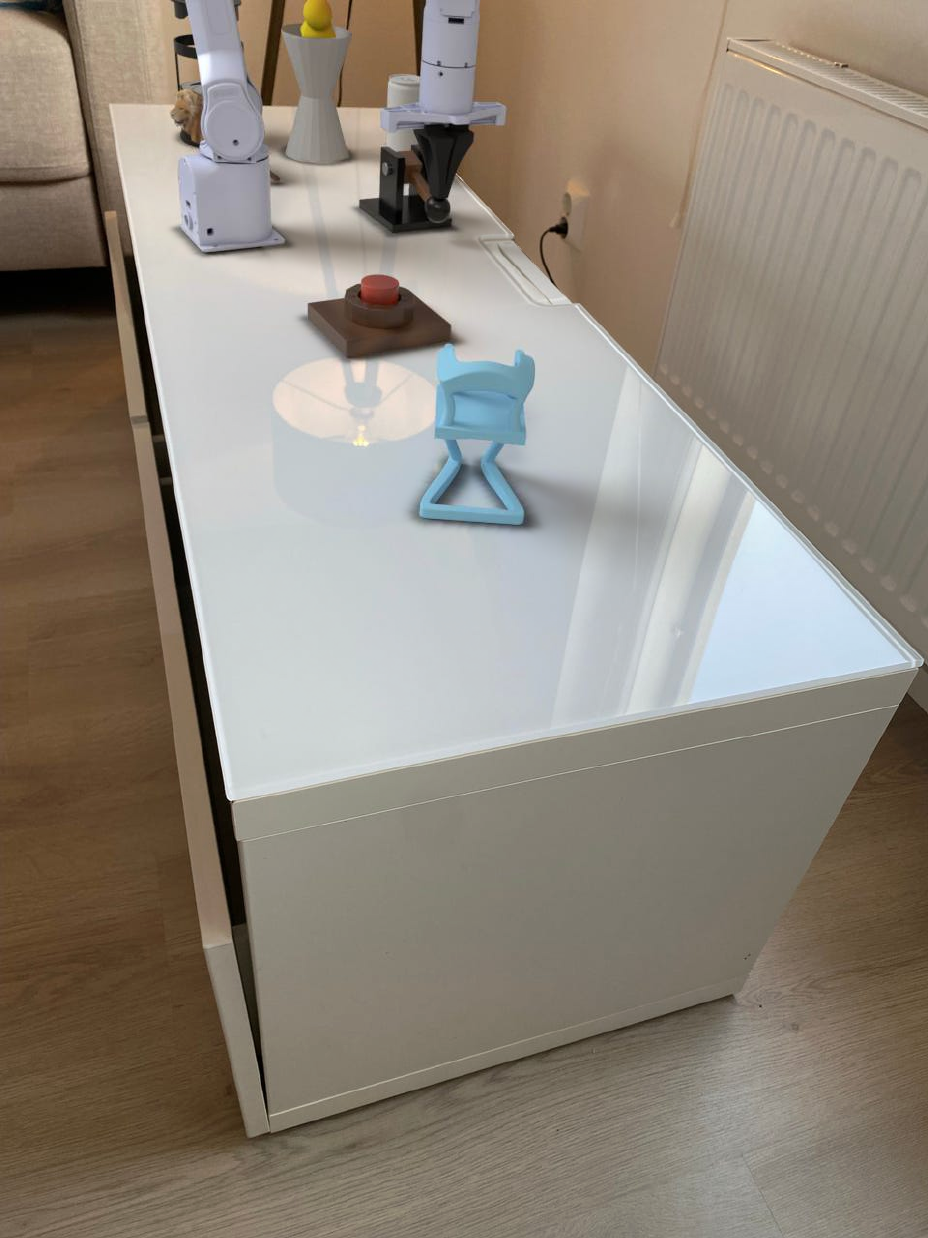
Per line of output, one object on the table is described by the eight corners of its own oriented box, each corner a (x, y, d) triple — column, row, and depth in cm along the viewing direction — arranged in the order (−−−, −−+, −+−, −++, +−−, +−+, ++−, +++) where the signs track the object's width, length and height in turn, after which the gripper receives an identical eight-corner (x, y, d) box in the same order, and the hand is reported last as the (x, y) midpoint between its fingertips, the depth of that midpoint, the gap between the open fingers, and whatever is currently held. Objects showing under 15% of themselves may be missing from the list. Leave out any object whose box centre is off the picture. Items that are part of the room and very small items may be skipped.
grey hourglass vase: (282, 142, 141) (274, -174, 118) (347, 145, 142) (351, -166, 120) (285, 163, 134) (278, -169, 111) (353, 165, 136) (359, -160, 113)
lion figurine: (168, 167, 128) (161, 90, 123) (191, 157, 132) (185, 82, 126) (271, 190, 125) (268, 112, 119) (291, 179, 129) (289, 103, 123)
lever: (452, 226, 116) (457, 203, 113) (429, 229, 115) (434, 205, 112) (411, 170, 120) (415, 147, 118) (388, 172, 119) (393, 148, 117)
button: (371, 309, 94) (371, 291, 92) (354, 294, 96) (354, 276, 95) (405, 304, 95) (406, 286, 94) (387, 289, 97) (388, 271, 96)
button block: (346, 359, 92) (347, 322, 90) (307, 319, 98) (306, 284, 96) (450, 341, 97) (453, 306, 95) (407, 304, 103) (408, 270, 100)
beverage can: (419, 185, 132) (425, 84, 124) (383, 181, 132) (386, 80, 124) (421, 174, 136) (427, 75, 128) (386, 170, 135) (389, 71, 128)
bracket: (451, 228, 121) (457, 160, 116) (392, 235, 117) (395, 165, 112) (416, 203, 126) (420, 137, 121) (358, 209, 123) (360, 141, 118)
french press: (249, 151, 136) (240, -50, 121) (177, 148, 135) (159, -56, 120) (249, 127, 145) (241, -64, 130) (182, 123, 143) (166, -70, 129)
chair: (518, 466, 81) (539, 324, 73) (523, 526, 74) (546, 378, 67) (422, 459, 80) (433, 315, 72) (419, 518, 74) (430, 368, 66)
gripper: (404, 73, 99) (398, 213, 108) (526, 68, 105) (511, 201, 114) (373, 55, 104) (369, 191, 112) (492, 52, 110) (479, 181, 119)
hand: (438, 195), depth 114 cm, fingers closed, pressing on lever
